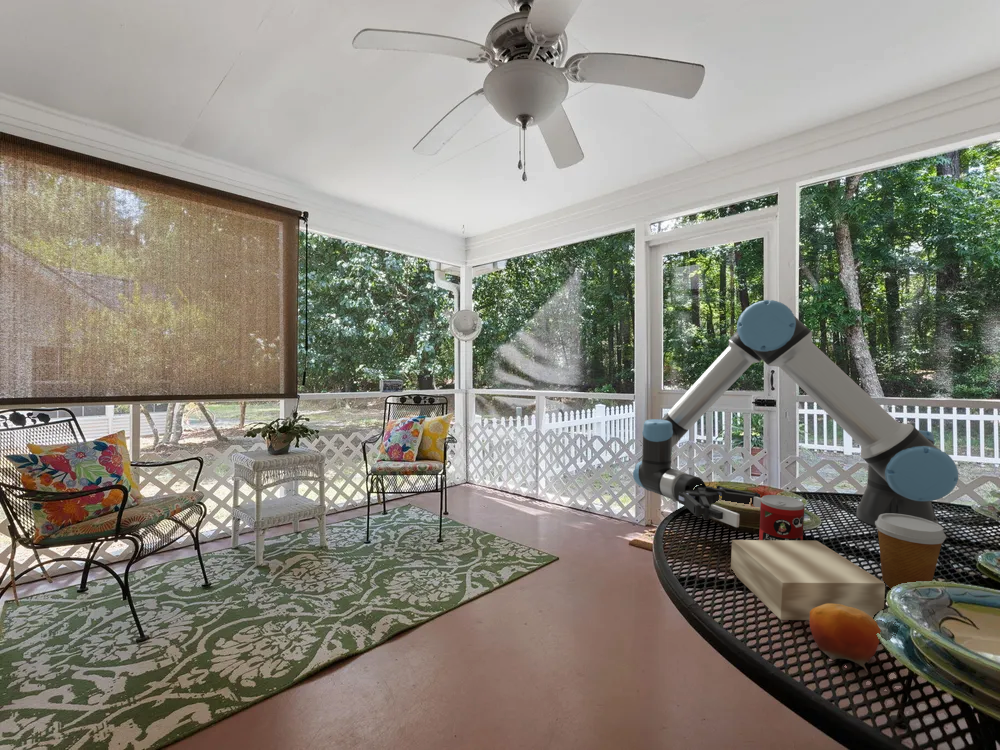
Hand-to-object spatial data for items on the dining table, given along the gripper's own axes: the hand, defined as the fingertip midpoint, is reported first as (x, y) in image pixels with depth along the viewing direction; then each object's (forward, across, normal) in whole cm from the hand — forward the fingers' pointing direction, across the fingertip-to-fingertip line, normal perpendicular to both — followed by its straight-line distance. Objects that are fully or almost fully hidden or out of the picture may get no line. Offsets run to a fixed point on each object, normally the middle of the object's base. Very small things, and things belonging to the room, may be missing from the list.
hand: (760, 516), depth 102 cm
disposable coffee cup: (+23, -7, -7) cm, 25 cm away
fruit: (+29, +22, -7) cm, 37 cm away
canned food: (+4, 0, -7) cm, 8 cm away
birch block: (+16, +12, -6) cm, 21 cm away
